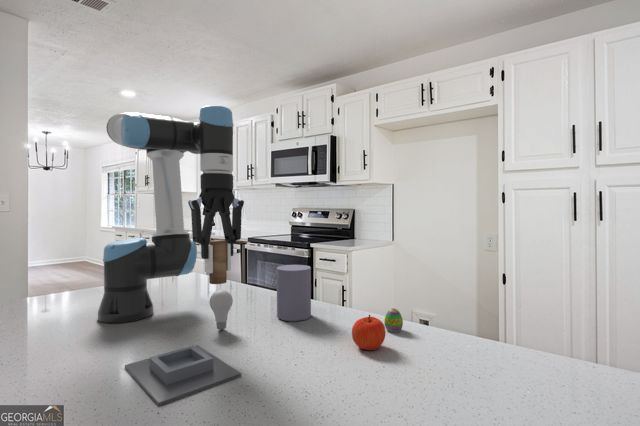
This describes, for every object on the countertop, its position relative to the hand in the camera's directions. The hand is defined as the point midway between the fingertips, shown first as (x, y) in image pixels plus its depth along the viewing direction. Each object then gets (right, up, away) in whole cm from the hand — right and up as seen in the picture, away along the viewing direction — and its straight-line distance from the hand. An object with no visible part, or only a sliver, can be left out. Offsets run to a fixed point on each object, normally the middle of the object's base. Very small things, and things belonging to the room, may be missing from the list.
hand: (217, 270), depth 89 cm
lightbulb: (-2, -18, +12) cm, 22 cm away
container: (+17, -18, +24) cm, 34 cm away
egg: (+44, -18, +12) cm, 49 cm away
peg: (0, -3, 0) cm, 3 cm away
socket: (-4, -19, -13) cm, 23 cm away
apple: (+36, -19, 0) cm, 41 cm away
